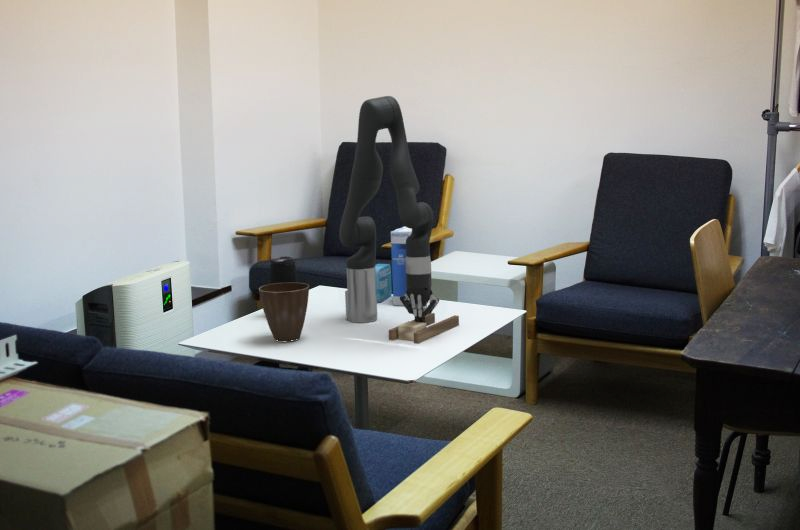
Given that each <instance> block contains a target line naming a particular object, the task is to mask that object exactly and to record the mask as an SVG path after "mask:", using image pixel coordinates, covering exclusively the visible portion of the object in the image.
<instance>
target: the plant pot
mask: <svg viewBox="0 0 800 530" xmlns="http://www.w3.org/2000/svg"><path fill="white" fill-rule="evenodd" d="M258 292H259V298H260V303H261V306H262V309H263V313H264V315H265V319H266V320H265V321H266V322H267V325H268V327H269V331H270V332H271V334H272V335H271V336H272V337H273V340H274V341H275V340H278V341H291V340H296V339H298V340H300V338H301V335H302V332H303V328H304V325H305V320H306V314H307V312H308V311H307V310H308V309H307V308H308V304H309V294H310V285H309V283H304V282H298V283H295V282H287V283H275V284H266V285H265V284H264V285H262V286H260V287H259V288H258ZM278 341H277V342H278ZM296 341H297V340H296ZM291 342H292V341H291Z"/></svg>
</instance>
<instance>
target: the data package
mask: <svg viewBox="0 0 800 530" xmlns="http://www.w3.org/2000/svg"><path fill="white" fill-rule="evenodd" d="M375 272H376V295H377V303H382V302H384V301H386V300H388V299H389V298H391V297H392V296H393V282H392V265H391V264H390V263H377V264H375Z"/></svg>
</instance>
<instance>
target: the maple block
mask: <svg viewBox="0 0 800 530" xmlns="http://www.w3.org/2000/svg"><path fill="white" fill-rule="evenodd" d="M397 327H398V336H399V338H398V340H404V341H413V342H414V333H415V332H418V331H420V330H422V329H424V328H427V326H426V323H421V322H412V320H409V321H406V322H404V323H401V324H399V325H398V326H397Z"/></svg>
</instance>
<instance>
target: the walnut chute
mask: <svg viewBox="0 0 800 530" xmlns="http://www.w3.org/2000/svg"><path fill="white" fill-rule="evenodd" d="M411 321H412V322H415V318H414V319H412V320H411ZM425 323H426V328H424V329H422V330H420V331H418V332H415V333H414V341H413V344H417V345H419V344H421V343H424V342H425V341H428V340H430V339H432V338H434V337H436V336H439V335H441V334H443V333H445V332H447V331H449V330H451V329H453V328H456V327H458V326H460V316H459V315H455V314H454V315H453V316H450V317H447V318H445V319H443V320H440V321H438V322H436V313H434V312H431V313H430V314H428V315H426V316H425ZM388 340H389V341H395V340H399V336H398V326H395V327H393V328H391V329H388Z"/></svg>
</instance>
